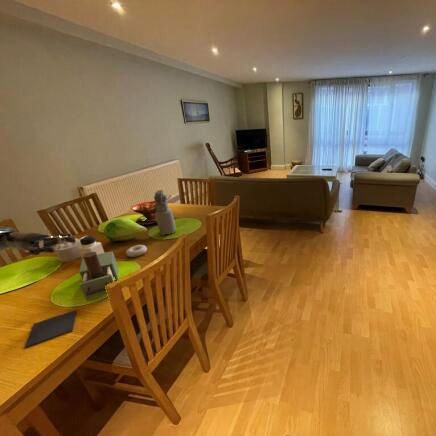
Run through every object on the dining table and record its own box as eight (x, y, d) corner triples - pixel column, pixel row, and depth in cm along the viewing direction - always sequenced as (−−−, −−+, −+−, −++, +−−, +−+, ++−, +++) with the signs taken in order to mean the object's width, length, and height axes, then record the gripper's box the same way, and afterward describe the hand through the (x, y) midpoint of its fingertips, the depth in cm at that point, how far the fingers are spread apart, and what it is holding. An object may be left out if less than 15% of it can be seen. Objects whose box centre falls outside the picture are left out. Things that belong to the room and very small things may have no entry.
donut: (150, 248, 139) (131, 249, 138) (149, 243, 138) (129, 244, 136) (143, 257, 130) (123, 259, 129) (142, 251, 129) (121, 253, 127)
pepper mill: (107, 287, 104) (95, 255, 98) (94, 290, 102) (82, 258, 95) (107, 281, 107) (96, 250, 101) (95, 285, 105) (83, 253, 99)
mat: (72, 331, 85) (72, 330, 84) (25, 348, 78) (24, 347, 78) (76, 310, 94) (76, 309, 93) (34, 324, 87) (33, 323, 87)
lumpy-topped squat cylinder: (87, 248, 139) (82, 235, 136) (79, 259, 128) (73, 245, 125) (65, 252, 136) (59, 238, 132) (54, 263, 124) (47, 249, 121)
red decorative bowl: (172, 211, 196) (168, 192, 190) (178, 220, 177) (174, 200, 171) (132, 219, 181) (126, 199, 175) (135, 230, 163) (128, 207, 156)
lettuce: (150, 234, 161) (143, 248, 149) (111, 231, 155) (100, 245, 142) (149, 215, 155) (142, 228, 142) (109, 211, 148) (97, 224, 135)
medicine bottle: (105, 253, 134) (98, 234, 130) (94, 260, 128) (87, 240, 123) (93, 253, 135) (85, 233, 130) (81, 259, 128) (74, 240, 123)
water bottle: (174, 234, 156) (165, 193, 145) (158, 236, 153) (148, 194, 143) (177, 228, 165) (169, 189, 154) (161, 230, 162) (152, 190, 152)
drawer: (116, 296, 100) (111, 280, 97) (85, 306, 94) (78, 290, 92) (116, 276, 113) (111, 262, 110) (88, 284, 107) (82, 269, 104)
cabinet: (118, 280, 111) (112, 263, 107) (86, 290, 105) (79, 272, 101) (118, 267, 121) (112, 250, 118) (89, 275, 115) (82, 258, 112)
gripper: (7, 241, 94) (40, 245, 91) (47, 226, 107) (77, 229, 104) (15, 258, 96) (48, 261, 94) (54, 241, 109) (83, 244, 107)
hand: (64, 244), depth 99 cm, fingers open, 8 cm apart
